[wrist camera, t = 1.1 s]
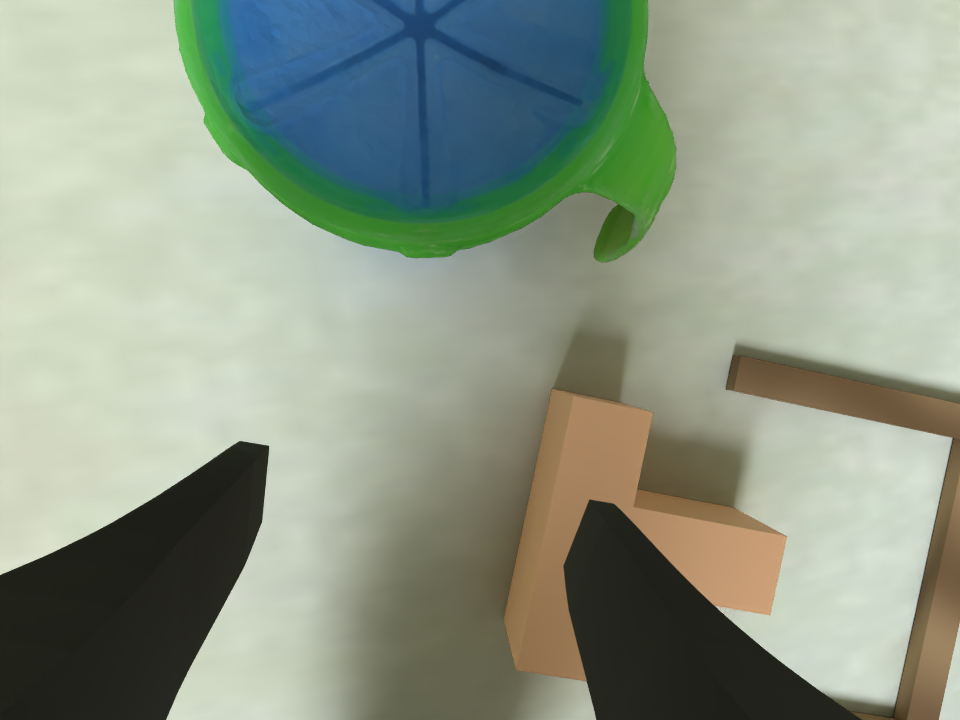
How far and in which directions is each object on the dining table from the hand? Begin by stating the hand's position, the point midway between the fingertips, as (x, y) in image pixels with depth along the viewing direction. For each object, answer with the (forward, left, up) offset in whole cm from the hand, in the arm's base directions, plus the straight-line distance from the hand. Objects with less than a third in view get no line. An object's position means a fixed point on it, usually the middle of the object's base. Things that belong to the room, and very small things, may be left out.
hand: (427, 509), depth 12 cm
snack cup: (+11, +2, -10) cm, 15 cm away
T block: (-2, -9, -10) cm, 14 cm away
